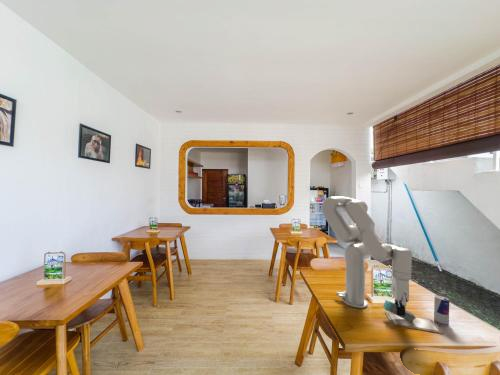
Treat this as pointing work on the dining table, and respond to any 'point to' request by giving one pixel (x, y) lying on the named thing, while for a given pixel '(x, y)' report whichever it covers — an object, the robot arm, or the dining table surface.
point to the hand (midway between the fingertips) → (399, 312)
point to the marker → (393, 309)
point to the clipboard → (414, 323)
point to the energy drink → (441, 310)
